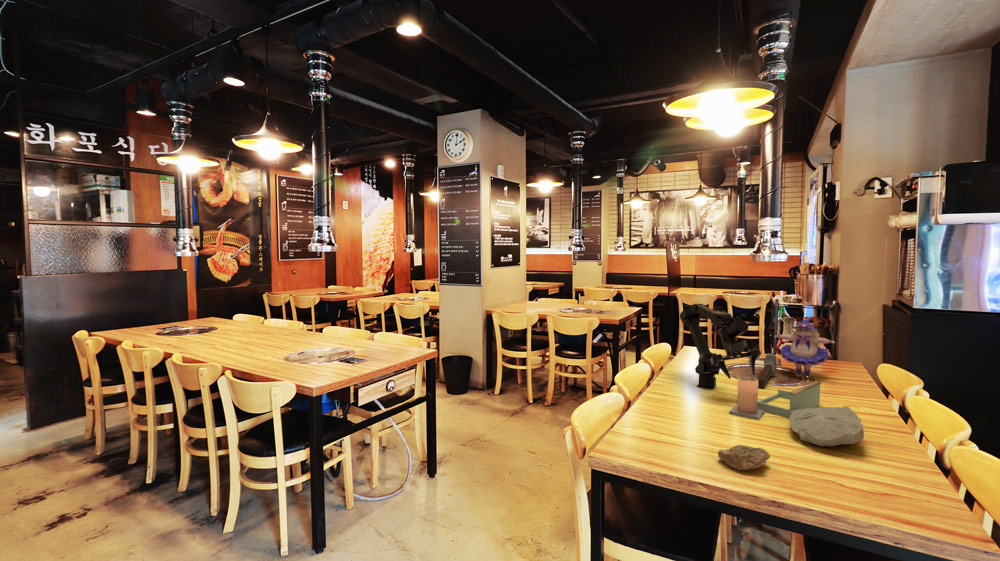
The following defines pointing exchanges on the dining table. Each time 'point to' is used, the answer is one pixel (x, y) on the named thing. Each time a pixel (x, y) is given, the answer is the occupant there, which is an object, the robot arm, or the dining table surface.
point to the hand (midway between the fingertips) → (741, 376)
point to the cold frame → (793, 399)
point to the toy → (804, 347)
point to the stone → (827, 425)
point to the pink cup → (747, 395)
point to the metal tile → (752, 416)
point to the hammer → (767, 370)
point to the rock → (744, 457)
